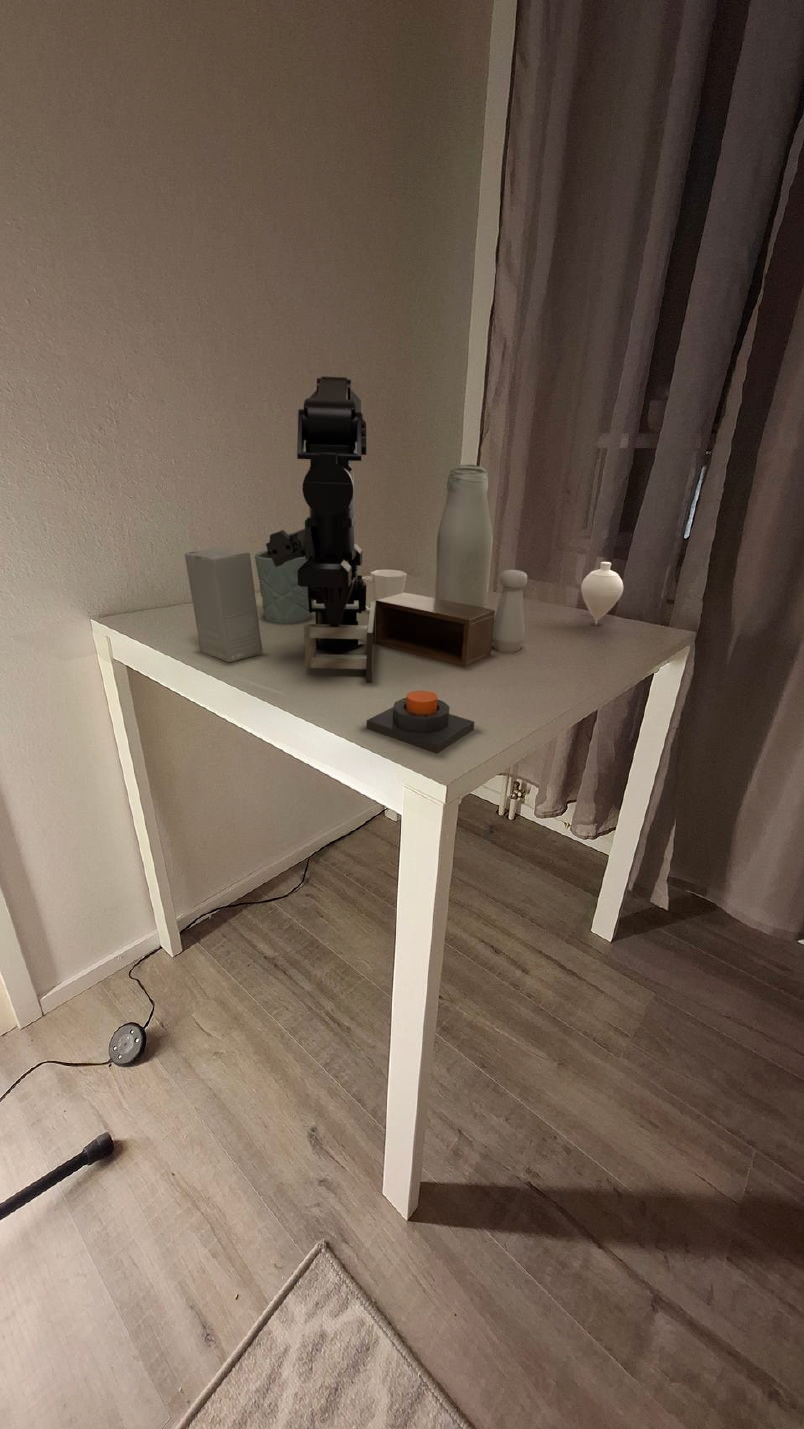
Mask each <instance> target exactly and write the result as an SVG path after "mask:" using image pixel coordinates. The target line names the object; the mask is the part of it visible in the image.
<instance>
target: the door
mask: <svg viewBox="0 0 804 1429" xmlns="http://www.w3.org/2000/svg"><path fill="white" fill-rule="evenodd" d="M369 604H370V605H369V608H370V611H368V619H367V624H366V625H365V624H364V625H363V624H361V625H360V624H358V625H339V626H338V627H331V626H330V624H316V623H306V624H304V625H303V631H304V632H303V635H304V636H303V637H304V638H303V642H304V666H305V668H308V669H339V670H340V669H342V670H365V671H366V673H365V674H366V675H365V676H366V677H365V683H367V684H372V683H373V674H374V663H375V650H376V645H375V641H376V640H375V626H376V602H375V601H370V603H369ZM316 638H331V639H358V640H366V654H362V655H361V654H335V653H332V654H331V653H330V654H328V653H327V654H326V653H317V648H316Z"/></svg>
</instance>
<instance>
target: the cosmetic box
mask: <svg viewBox="0 0 804 1429" xmlns="http://www.w3.org/2000/svg"><path fill="white" fill-rule="evenodd" d="M184 559H185V565H186V571H187V576H188V583H189V589H190V595H191V601H192V607H193V614H194V619H195V626H196V631H197V637H198V643H199V649H200V650H199V651H200V652H201V653H204V654H206V655H209V656H211V657H213V658H216V659H219V660H222V661H224V662H227V663H232V662H237V661H240V660H243V659H246V658H251V657H256V656H261V655H263V645H262V638H261V630H260V622H259V616H258V607H257V606H258V605H257V599H256V598H257V597H256V592H255V591H256V590H255V584H254V582H255V581H254V576H253V569H252V568H253V567H252V559H251V553H250V552H249V551H241V550H235V549H230V548H224V547H215V548H210V549H202V550H196V551H195V550H194V551H189V552H185V553H184Z"/></svg>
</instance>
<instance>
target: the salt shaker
mask: <svg viewBox="0 0 804 1429" xmlns="http://www.w3.org/2000/svg"><path fill="white" fill-rule="evenodd" d="M527 583H528V575H527V573H526V572H524V571H522V570H519V569H507V570H504V571H502V572H501V574H500V578H499V584H500V585H501V586H502V589H501V592H500V593H501V594H500V598H499V601H498V604H497V608H496V610H495V616H494V626H493V637H492V647H493V649H495V650H496V651H497V652H502V653H516V652H518V651H520V649H521V648H522V645H523V644H524V642H525V639H526V629H525V613H524V612H525V611H524V595H523V594H524V593H523V592H524V591H523V588H526V586H527Z"/></svg>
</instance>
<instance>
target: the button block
mask: <svg viewBox="0 0 804 1429" xmlns="http://www.w3.org/2000/svg"><path fill="white" fill-rule="evenodd" d="M474 729H475V721H474V720H471V719H467V718H464V717H460V716H458V715H454V714H451V713H450V705H448V704H447V703H446V702H444V700H442V699H439V698H437V711H436V712H435V713H431V714H414V713H411V712H408V711H407V710H406V697H403V698H400V699H398V700H396V701H395V702H394V704H393V707H390V708H388V709H386V710H385V711H382V712H381V713H378V714H376V715H375V716H371V717H370V718H368V719H366V730H369V731H371V732H374V733H376V734H379V735H382V736H384V737H388V738H391V739H394V740H395V741H400V742H402V743H405V744H407V745H411V746H413V747H416V748H419V749H422V750H425V751H428V752H430V753H433V754H436V755H438V754H440V753H441V752H443V751H444V750H446V749H447V748H448V747H450V746H452V745H453V744H455V743H456V742H458V741H459V740H461V739H462V738H464V737H465V736H467V735H468V734H470V733H472V732H473V731H474Z"/></svg>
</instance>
